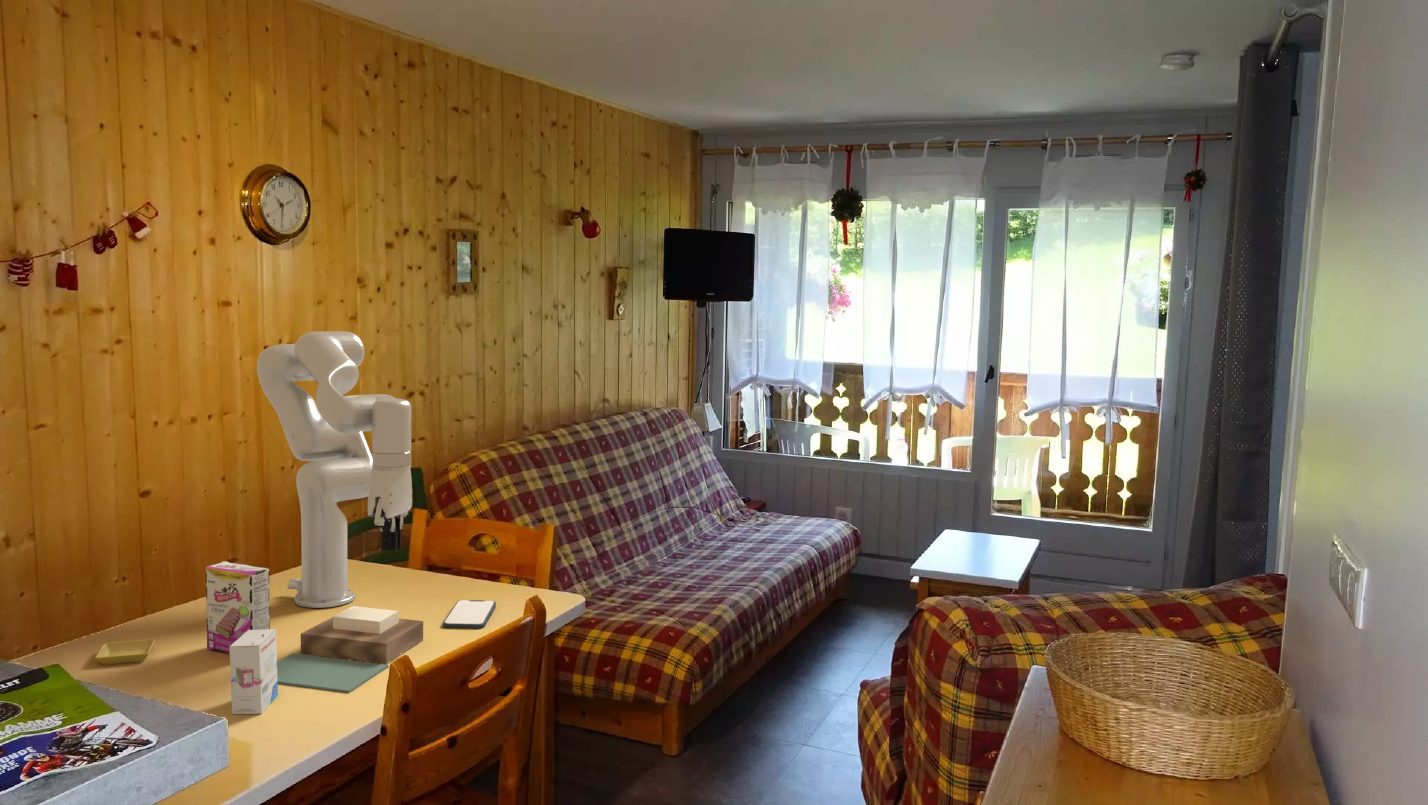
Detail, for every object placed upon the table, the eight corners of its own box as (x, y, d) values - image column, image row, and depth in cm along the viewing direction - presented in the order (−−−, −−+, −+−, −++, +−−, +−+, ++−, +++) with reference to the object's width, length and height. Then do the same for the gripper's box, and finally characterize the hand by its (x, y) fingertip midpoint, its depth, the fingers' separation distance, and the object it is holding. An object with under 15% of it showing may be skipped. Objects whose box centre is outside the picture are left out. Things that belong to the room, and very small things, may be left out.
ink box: (248, 694, 177) (247, 627, 175) (278, 694, 177) (278, 627, 176) (229, 714, 168) (228, 644, 167) (261, 714, 169) (260, 644, 167)
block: (300, 653, 196) (300, 633, 196) (342, 631, 210) (342, 611, 210) (386, 664, 193) (386, 643, 192) (423, 640, 206) (423, 621, 206)
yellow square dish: (104, 653, 194) (104, 642, 194) (155, 649, 197) (155, 638, 197) (94, 669, 186) (94, 657, 186) (148, 664, 189) (148, 653, 189)
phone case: (483, 632, 214) (497, 607, 230) (483, 624, 214) (497, 600, 230) (441, 631, 214) (457, 606, 230) (441, 623, 214) (457, 599, 230)
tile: (333, 628, 199) (333, 616, 199) (353, 617, 206) (353, 606, 206) (379, 633, 197) (379, 621, 197) (398, 622, 204) (398, 611, 204)
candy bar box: (205, 650, 196) (203, 566, 195) (225, 642, 201) (224, 560, 199) (252, 659, 193) (251, 573, 191) (271, 650, 197) (270, 567, 196)
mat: (248, 679, 183) (248, 677, 183) (292, 655, 196) (292, 653, 196) (349, 692, 179) (349, 690, 179) (388, 666, 191) (388, 664, 191)
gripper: (394, 453, 216) (394, 539, 218) (353, 464, 201) (354, 556, 203) (427, 455, 214) (426, 542, 216) (388, 467, 199) (388, 560, 201)
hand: (391, 548), depth 210 cm, fingers closed
